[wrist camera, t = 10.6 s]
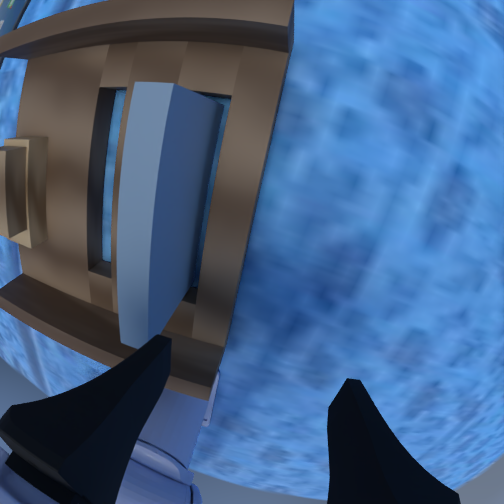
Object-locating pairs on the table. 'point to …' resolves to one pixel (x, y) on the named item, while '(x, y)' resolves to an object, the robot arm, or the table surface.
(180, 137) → the sheet
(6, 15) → the tablet
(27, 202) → the block
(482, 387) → the table surface
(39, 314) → the rack
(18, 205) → the offcut top
